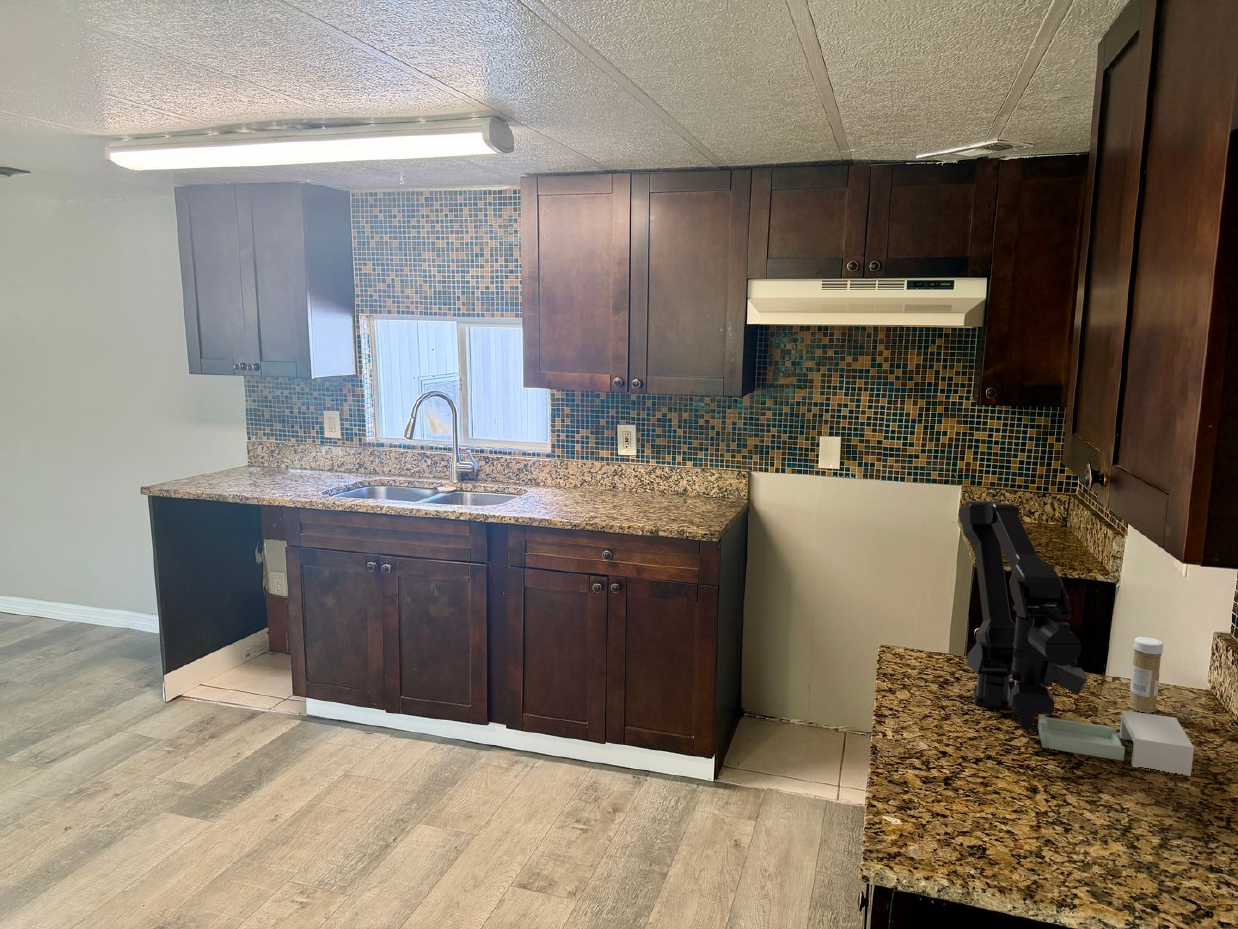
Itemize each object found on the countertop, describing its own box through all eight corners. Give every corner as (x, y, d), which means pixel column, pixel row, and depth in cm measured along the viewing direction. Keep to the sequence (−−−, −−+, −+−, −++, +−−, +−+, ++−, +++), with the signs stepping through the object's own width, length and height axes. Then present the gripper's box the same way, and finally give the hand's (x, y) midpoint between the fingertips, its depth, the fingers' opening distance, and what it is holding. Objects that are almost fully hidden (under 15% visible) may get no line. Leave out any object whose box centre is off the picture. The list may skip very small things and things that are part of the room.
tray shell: (1037, 727, 150) (1038, 714, 150) (1114, 739, 146) (1116, 725, 146) (1042, 747, 143) (1043, 733, 143) (1123, 760, 139) (1125, 745, 138)
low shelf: (1119, 736, 147) (1122, 710, 147) (1173, 744, 144) (1176, 718, 144) (1132, 766, 137) (1135, 738, 136) (1190, 776, 134) (1194, 747, 133)
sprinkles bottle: (1162, 713, 157) (1169, 643, 155) (1141, 715, 156) (1149, 645, 154) (1141, 703, 161) (1148, 635, 159) (1121, 705, 160) (1128, 637, 158)
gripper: (1093, 670, 133) (1084, 763, 136) (1078, 632, 151) (1070, 715, 153) (1016, 659, 138) (1008, 750, 140) (1009, 624, 155) (1003, 705, 157)
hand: (1025, 729), depth 147 cm, fingers closed
